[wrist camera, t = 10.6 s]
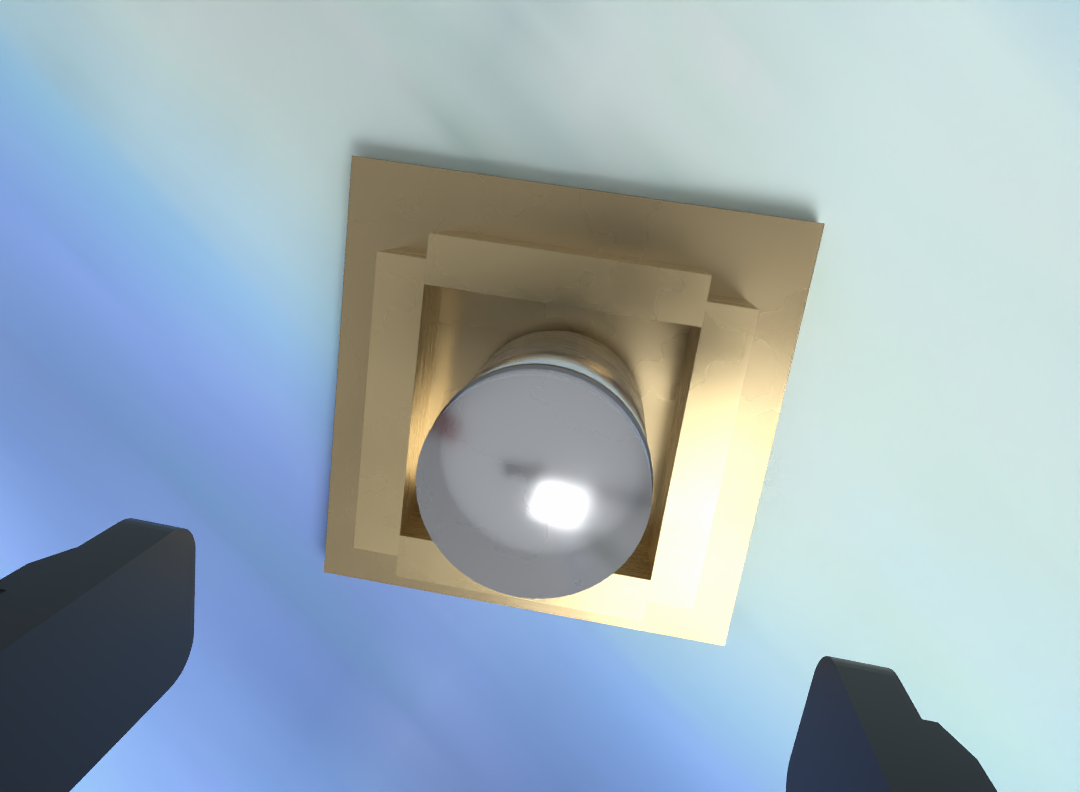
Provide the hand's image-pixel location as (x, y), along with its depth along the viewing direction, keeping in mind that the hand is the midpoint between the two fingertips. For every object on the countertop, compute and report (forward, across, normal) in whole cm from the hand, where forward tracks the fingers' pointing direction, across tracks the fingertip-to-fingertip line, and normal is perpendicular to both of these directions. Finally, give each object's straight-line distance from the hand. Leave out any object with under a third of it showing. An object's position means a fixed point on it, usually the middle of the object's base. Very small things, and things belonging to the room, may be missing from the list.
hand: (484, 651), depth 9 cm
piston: (+11, 0, 0) cm, 11 cm away
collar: (+12, 0, 0) cm, 12 cm away
